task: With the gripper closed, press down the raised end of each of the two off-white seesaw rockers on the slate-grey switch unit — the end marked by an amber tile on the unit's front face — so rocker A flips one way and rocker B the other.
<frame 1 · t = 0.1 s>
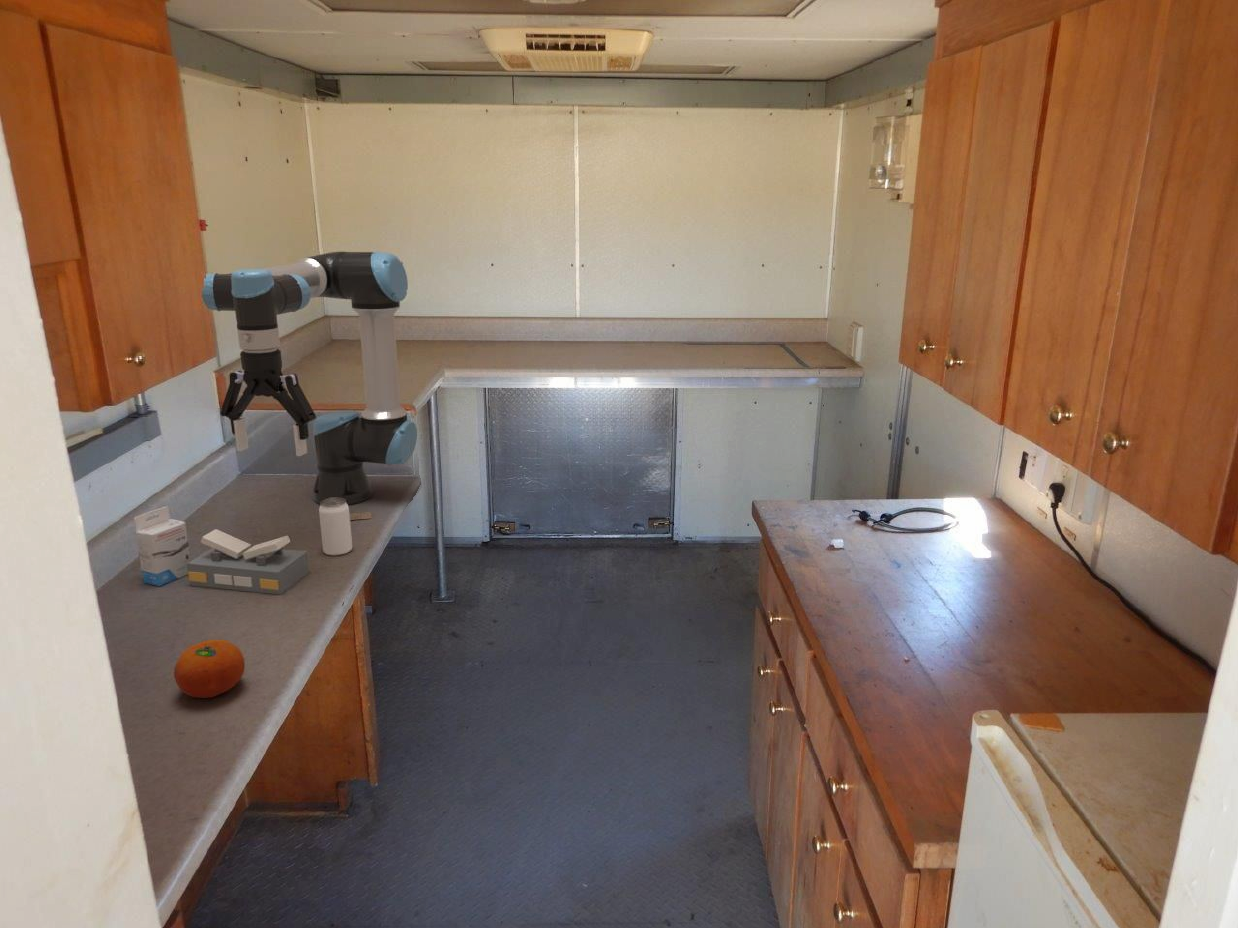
hand: (272, 452, 179), 28 cm above the table, fingers open, 13 cm apart
ink box: (168, 578, 187), on the table
can: (338, 551, 201), on the table
switch unit: (250, 578, 186), on the table
fruit: (213, 691, 145), on the table
rocker B: (267, 549, 183), point 7 cm above the table, hinge at 20.0°
rocker A: (225, 545, 185), point 7 cm above the table, hinge at -20.0°
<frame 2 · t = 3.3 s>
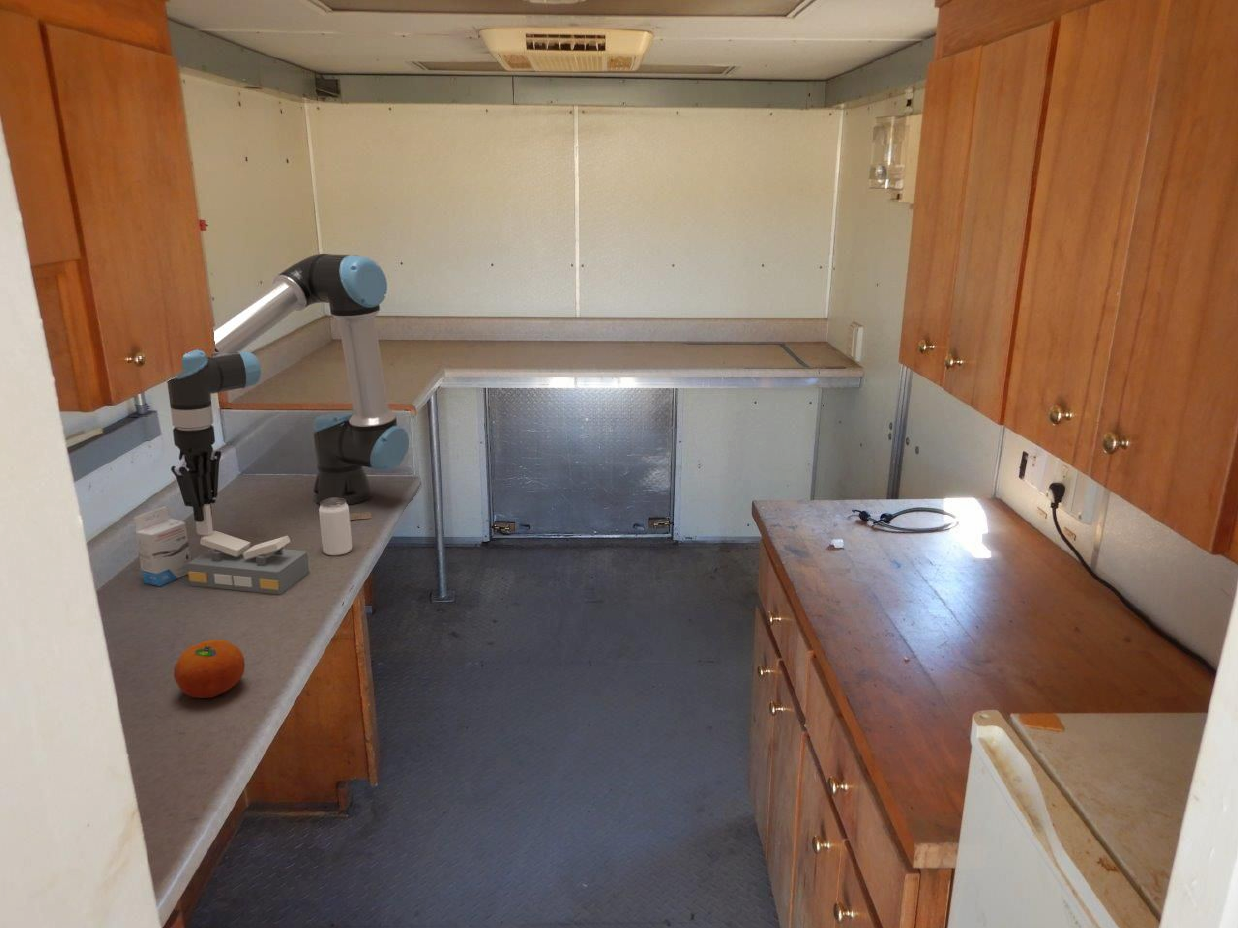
hand: (205, 533, 185), 10 cm above the table, fingers closed
rocker A: (225, 545, 185), point 7 cm above the table, hinge at -14.0°, touching gripper
everything else where it was.
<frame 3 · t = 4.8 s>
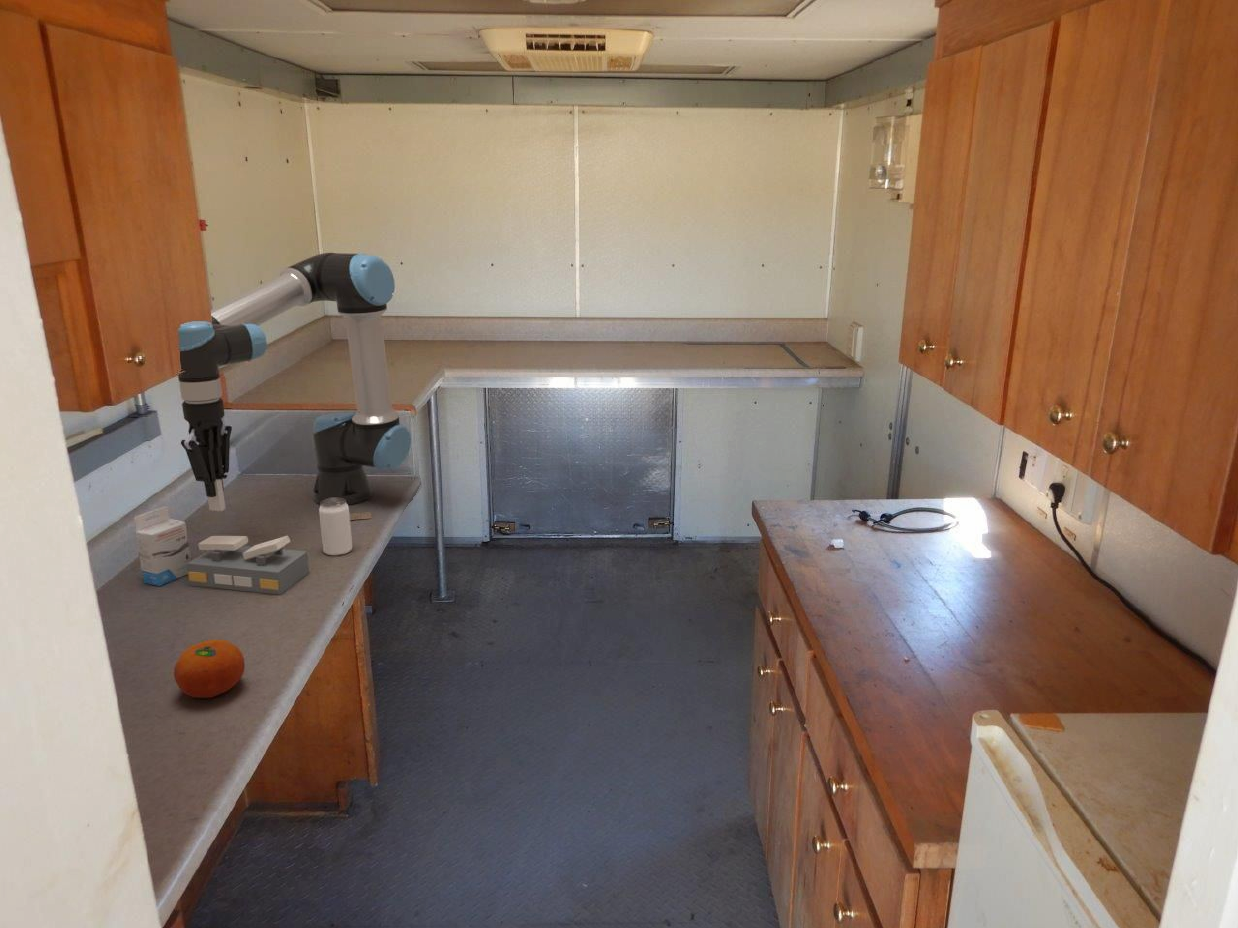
hand: (217, 509, 183), 15 cm above the table, fingers closed
rocker A: (223, 545, 185), point 7 cm above the table, hinge at 4.4°
everything else where it was.
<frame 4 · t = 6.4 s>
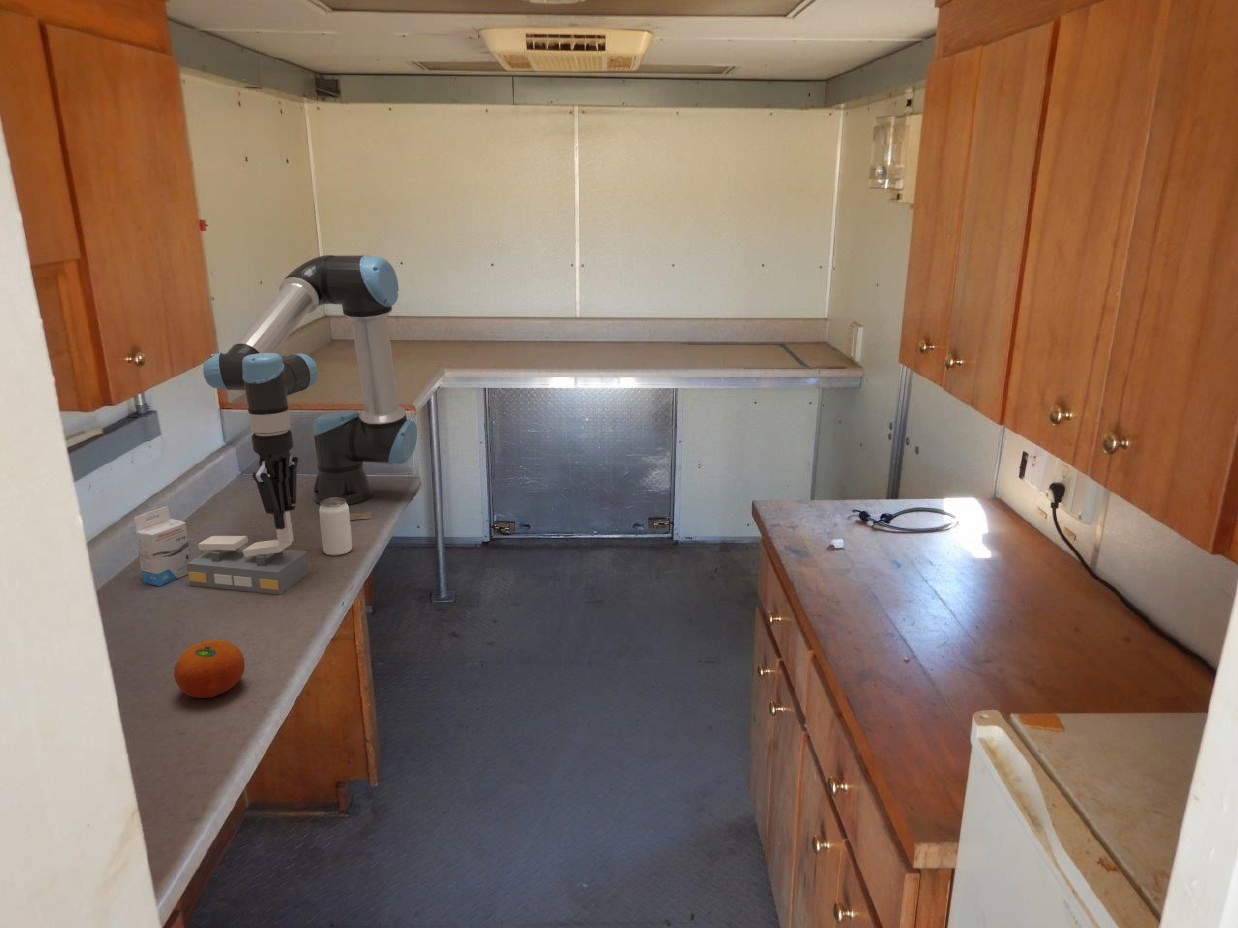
hand: (285, 541, 182), 10 cm above the table, fingers closed
rocker B: (268, 549, 183), point 7 cm above the table, hinge at 12.4°, touching gripper
rocker A: (223, 545, 185), point 7 cm above the table, hinge at 5.1°
everything else where it was.
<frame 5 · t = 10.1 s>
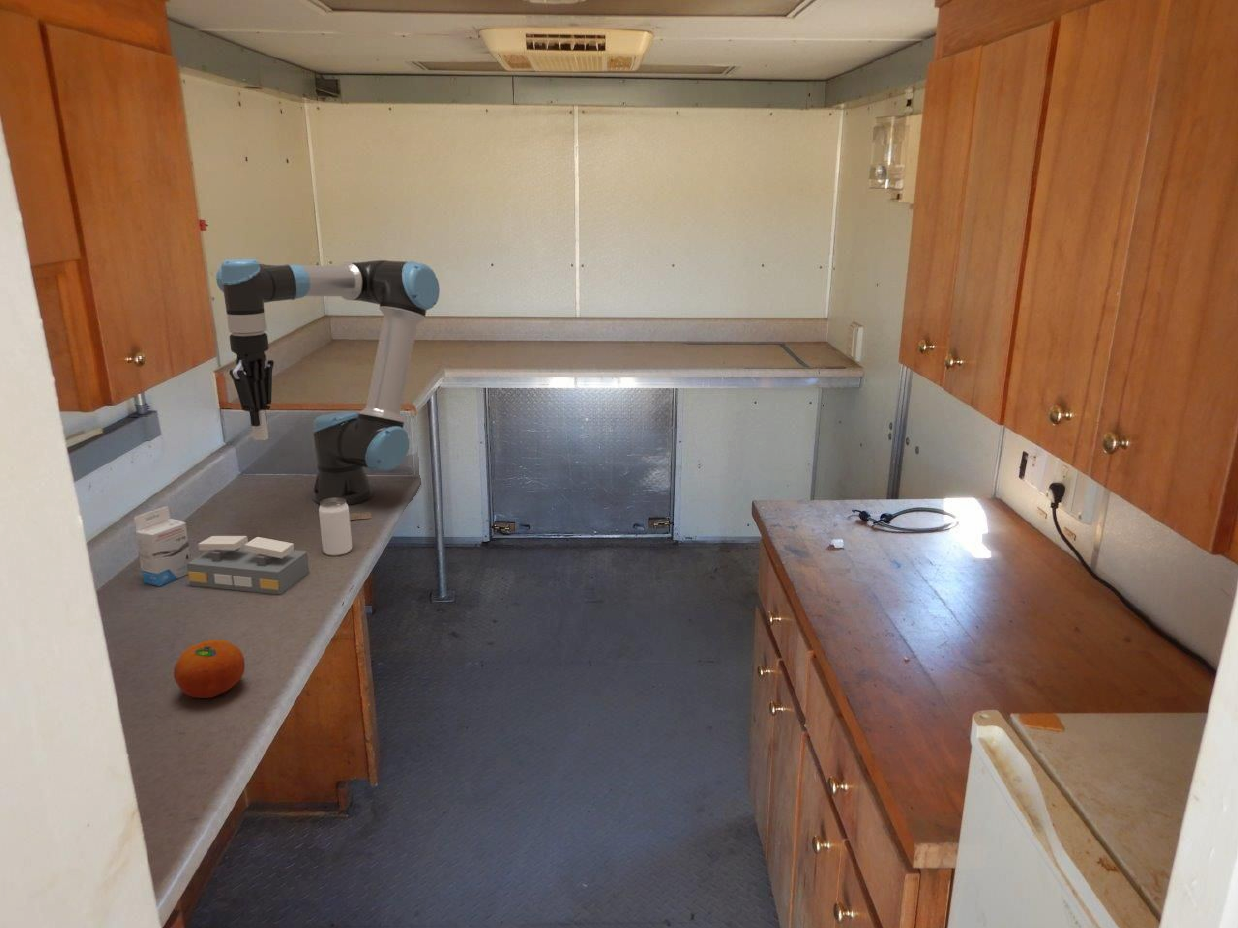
hand: (260, 438, 194), 26 cm above the table, fingers closed
rocker B: (269, 549, 183), point 7 cm above the table, hinge at -5.6°
everything else where it was.
at the end: rocker A at +5° (first picture: -20°); rocker B at -6° (first picture: +20°) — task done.
